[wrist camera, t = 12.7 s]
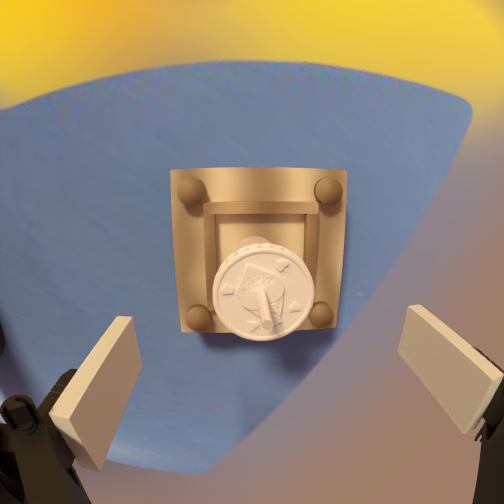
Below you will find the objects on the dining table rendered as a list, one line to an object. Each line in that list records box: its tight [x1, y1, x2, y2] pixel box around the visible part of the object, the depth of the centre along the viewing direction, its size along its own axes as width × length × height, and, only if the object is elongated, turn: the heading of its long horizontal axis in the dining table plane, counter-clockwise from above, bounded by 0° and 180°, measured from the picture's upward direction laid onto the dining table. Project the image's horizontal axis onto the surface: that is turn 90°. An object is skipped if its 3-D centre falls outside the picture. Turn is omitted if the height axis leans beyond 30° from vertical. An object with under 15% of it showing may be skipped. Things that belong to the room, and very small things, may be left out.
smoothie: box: [213, 236, 314, 341], centre depth 20 cm, size 6×6×14 cm
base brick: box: [171, 167, 347, 333], centre depth 29 cm, size 16×16×6 cm
